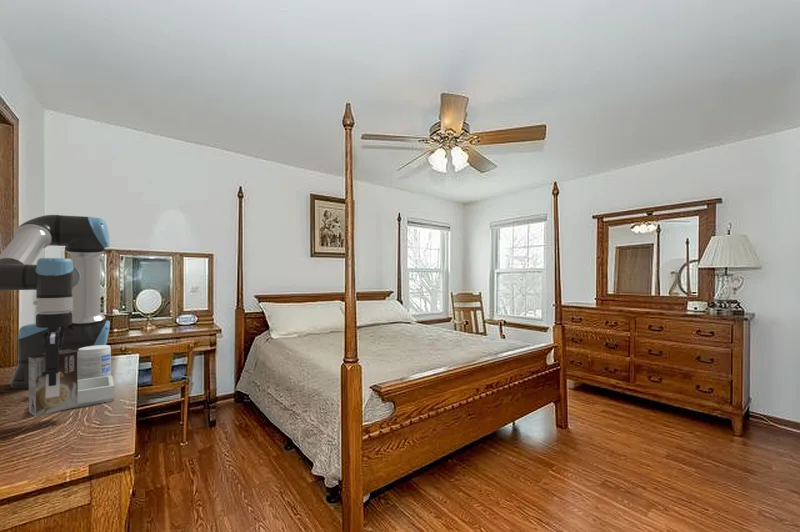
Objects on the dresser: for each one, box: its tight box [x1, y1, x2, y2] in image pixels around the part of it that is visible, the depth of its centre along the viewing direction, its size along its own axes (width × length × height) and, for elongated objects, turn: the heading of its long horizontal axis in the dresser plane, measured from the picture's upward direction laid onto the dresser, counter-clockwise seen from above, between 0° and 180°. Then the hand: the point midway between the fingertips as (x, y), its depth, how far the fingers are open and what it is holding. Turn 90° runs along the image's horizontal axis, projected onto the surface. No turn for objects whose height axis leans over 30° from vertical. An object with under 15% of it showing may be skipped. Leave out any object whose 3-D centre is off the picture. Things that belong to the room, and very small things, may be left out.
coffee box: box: [28, 349, 78, 417], centre depth 103 cm, size 9×6×16 cm
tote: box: [63, 374, 115, 411], centre depth 121 cm, size 16×16×5 cm
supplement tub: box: [77, 344, 112, 380], centre depth 134 cm, size 10×10×15 cm
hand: (53, 392), depth 103 cm, fingers closed on coffee box, 7 cm apart
